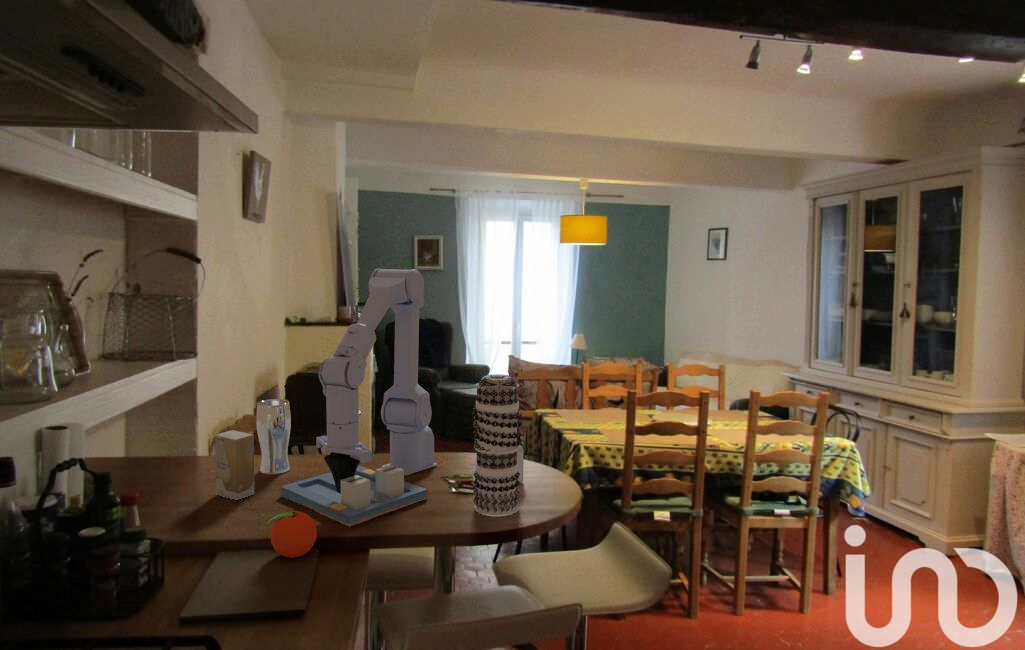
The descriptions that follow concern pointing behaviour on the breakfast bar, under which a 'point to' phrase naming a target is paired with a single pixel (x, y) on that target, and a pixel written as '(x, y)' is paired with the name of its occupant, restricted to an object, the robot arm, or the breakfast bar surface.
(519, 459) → the white rounded block
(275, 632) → the breakfast bar surface
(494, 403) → the decorative candle
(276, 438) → the beer glass
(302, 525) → the clementine
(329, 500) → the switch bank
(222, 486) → the skincare box
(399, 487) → the white block
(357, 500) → the white striped block
